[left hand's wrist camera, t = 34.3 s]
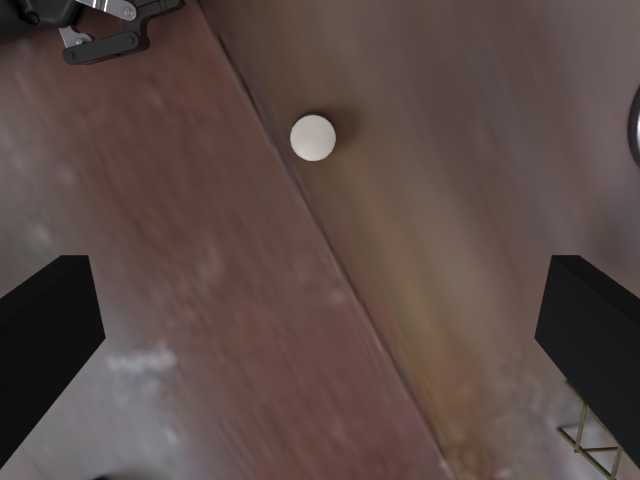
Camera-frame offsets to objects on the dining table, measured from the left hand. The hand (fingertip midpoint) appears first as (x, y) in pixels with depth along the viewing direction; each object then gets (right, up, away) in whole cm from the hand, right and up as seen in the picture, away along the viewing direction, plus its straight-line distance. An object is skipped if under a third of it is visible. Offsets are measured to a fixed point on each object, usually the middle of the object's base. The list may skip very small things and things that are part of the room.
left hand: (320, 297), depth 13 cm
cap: (-1, +11, +28) cm, 30 cm away
